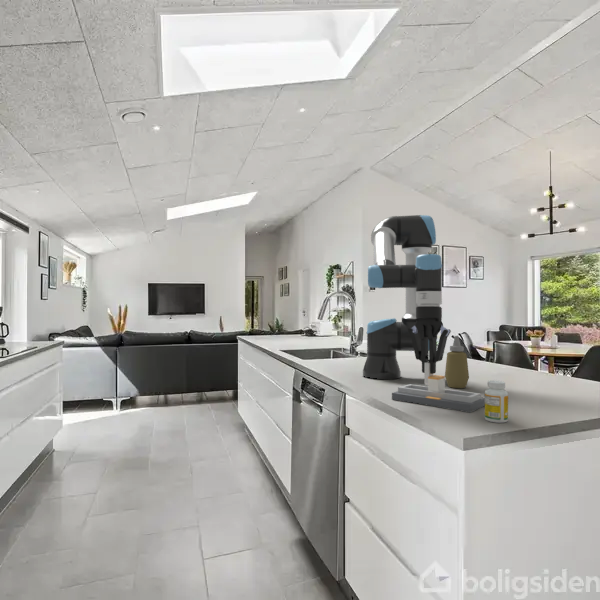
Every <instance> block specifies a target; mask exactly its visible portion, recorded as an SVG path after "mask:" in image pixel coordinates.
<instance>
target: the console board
mask: <svg viewBox="0 0 600 600" xmlns="http://www.w3.org/2000/svg"><path fill="white" fill-rule="evenodd" d="M481 394H482V393H479V392H472V391H463V390H456V389H450V388H449V389H448V388H445V393H441V392H434V391H428V385H427V386H426V385H425V386H424V385H419V384H411V383H409V384H406V385H401V386H398V387H397V391H393V392H391V400H392V399H394V400H393V401H398V400H401V401H400V402H404V401H407V403H411V402H413V403H412V404H417V403H420V404H419V405H423V404H427V405H426V406H429V405H432V406H431V407H435V406H438V407H437V408H441V407H443V409H447V408H449V409H448V410H454V409H456V410H455V411H460V410H462V411H461V412H466V411H467V413H472V412H474V411H477V410H479V409H481V408H483V407H485V397H484V396H483V397H482V395H481ZM476 409H477V410H476Z"/></svg>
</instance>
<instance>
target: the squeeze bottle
mask: <svg viewBox="0 0 600 600" xmlns="http://www.w3.org/2000/svg"><path fill="white" fill-rule="evenodd" d="M464 348H465V347H464V346H463V345H461V341H460V337H459V335H455V336H454V338H453V343H452V345H450V346H449V352H446V361H445V362H446V363H445V373H444V376H445V382H446V383H447V386H448V388H452V389H463V388H466V387H467V385H468V382H469V380H470V374H469V373H470V372H469V365H468V364H469V363H468V355H467V353H466V352H464V351H465V349H464Z"/></svg>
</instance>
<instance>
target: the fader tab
mask: <svg viewBox="0 0 600 600" xmlns="http://www.w3.org/2000/svg"><path fill="white" fill-rule="evenodd" d="M427 387H428V391H434V392H441V393H445V389H446V378H445V375H440V374H439V375H437V374H433V375H432V376H428V385H427Z"/></svg>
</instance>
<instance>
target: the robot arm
mask: <svg viewBox="0 0 600 600" xmlns="http://www.w3.org/2000/svg"><path fill="white" fill-rule="evenodd" d="M371 231H372V232H371V235H370V236H371V237H370V240H371V241H370V242H371V244H372V247H373V264H372V265H369V266H368V267H367V285H368V287H369V288H373V289H375V288H376V289H391V288H392V289H393V288H395V289H397V288H403V289H405V313H404V314H403V316H401V321H397V319H396V318H395V317H393V318H384V319H377V320H371V321H369V322H368V323H367V325H366V326H367V327H366V328H367V329H366V330H367V331H366V334H367V335H366V337H367V339H366V359H365V362H364V365H363V369H362V377H364V376H365V377H364V378H366V377H370V378H369V379H373V378H377V379H376V380H396V379H401V376H402V372H401V369H400V366H399V363H398V360H397V352H414V356H415V359H416V360H417V361H420V362H421V373H423V374H424V385H425V386H426V385H427V386H428V376H432V375H435V374H436V372H437V363H438V362H441V361H442V360H443V358H444V353H445V350H446V349H445V348H446V346H447V345H446V344H447V340H448V337H449V336H450V334H451V332H452V331H451V329H448V328H446V327H445V326H444V324H443V322H442V319H443V316H442V315H443V307H442V306H440V305H442V304H443V298H442V297H443V295H442V293H443V291H442V290H443V289H442V284H443V283H442V280H443V279H442V277H443V275H442V274H443V273H442V271H443V269H442V268H443V263H442V262H443V261H442V256H441V255H439V254H435V253H429V252H430V251H431V250H433V249H432V247H433V245H435V244H436V242H437V234H436V233H437V232H436V226H435V222H434V218H433V217H432V216H431V215H426V214H425V215H424V214H423V215H422V214H419V215H418V214H417V215H400V216H399V215H393V216H389V217H386V218H384V219H382V220H381V221H379V222H378V223H377V224H376V225H375V226H374V227H373V228H372V230H371ZM395 246H401V251H402V252H404V254H405V264H396V253H395V252H396V251H395ZM439 333H440V336H439V338H438V335H439ZM437 340H438V343H437Z"/></svg>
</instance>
